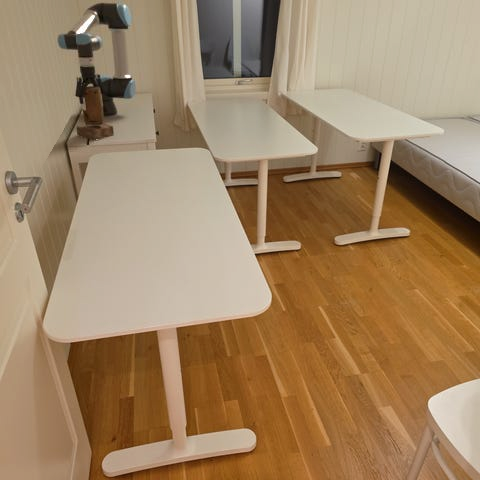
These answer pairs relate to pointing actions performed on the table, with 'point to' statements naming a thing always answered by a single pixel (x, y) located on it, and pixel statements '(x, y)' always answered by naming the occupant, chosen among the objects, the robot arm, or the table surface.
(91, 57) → the robot arm
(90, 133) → the walnut base
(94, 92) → the block
